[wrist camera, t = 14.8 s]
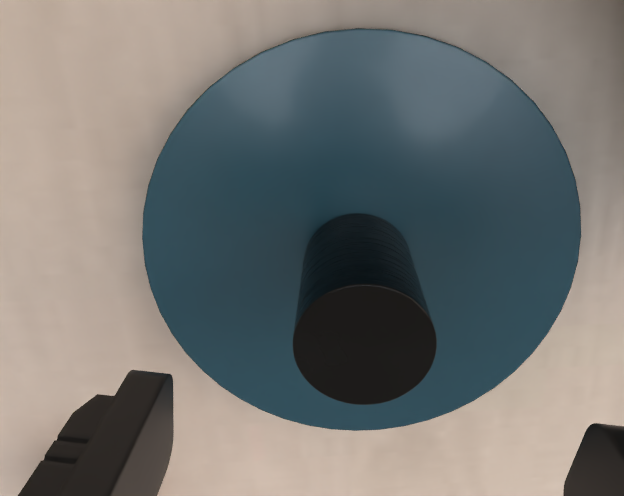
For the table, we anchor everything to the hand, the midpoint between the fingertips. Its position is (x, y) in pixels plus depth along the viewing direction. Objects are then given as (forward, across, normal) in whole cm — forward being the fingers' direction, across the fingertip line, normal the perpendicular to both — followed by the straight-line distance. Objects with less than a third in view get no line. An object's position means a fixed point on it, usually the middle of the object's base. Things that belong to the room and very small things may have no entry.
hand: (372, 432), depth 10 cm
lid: (+9, 0, 0) cm, 9 cm away
